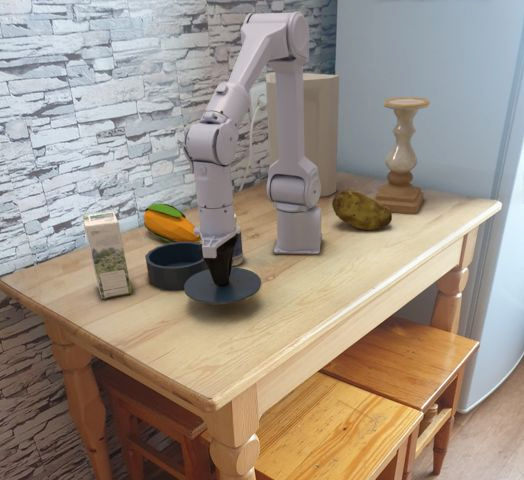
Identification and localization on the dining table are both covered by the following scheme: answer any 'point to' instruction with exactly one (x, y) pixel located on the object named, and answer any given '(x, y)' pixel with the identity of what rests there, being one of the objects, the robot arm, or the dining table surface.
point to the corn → (169, 223)
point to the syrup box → (107, 254)
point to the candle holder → (402, 159)
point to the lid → (223, 287)
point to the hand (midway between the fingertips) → (222, 279)
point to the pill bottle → (237, 246)
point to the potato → (361, 210)
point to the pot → (174, 264)
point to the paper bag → (312, 125)
